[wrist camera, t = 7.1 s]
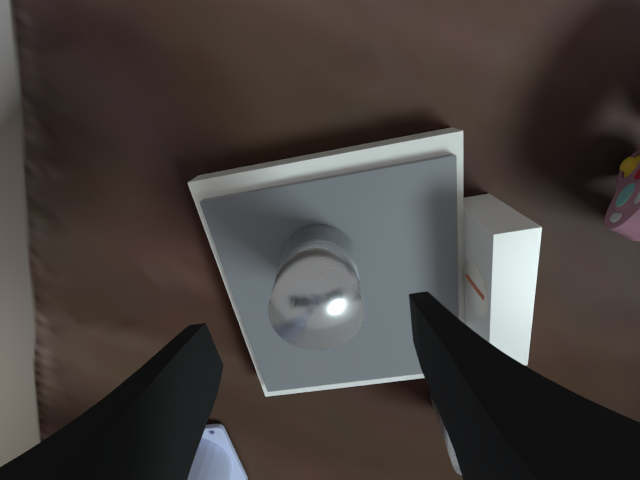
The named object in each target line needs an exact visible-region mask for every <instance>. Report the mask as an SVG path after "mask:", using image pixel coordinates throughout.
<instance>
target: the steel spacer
mask: <svg viewBox="0 0 640 480" xmlns="http://www.w3.org/2000/svg"><path fill="white" fill-rule="evenodd" d="M364 315H365V309H364V302H363V296H362V291H361V285H360V279H359V273H358V267H357V261H356V256H355V250H354V246H353V244H352V242H351V240H350V239H349V237H348V236H347V235H346V234H345V233H344V232H342V231H341V230H340V229H338V228H336V227H334V226H331V225H327V224H310V225H306V226H304V227H301V228H300V229H298V230H296V231H295V232H294V233H293V234H292V235H291V236H290V237H289V238H288V240H287V242H286V244H285V246H284V250H283V253H282V257H281V260H280V264H279V268H278V271H277V275H276V278H275V282H274V286H273V289H272V293H271V297H270V300H269V305H268V316H269V320H270V323H271V325H272V327H273V328H274V330H275V331H276V333H277V334H278V335H279V336H280V337H281V338H282V339H284V340H285V341H286V342H288V343H290V344H292V345H294V346H296V347H299V348H302V349H307V350H328V349H332V348H335V347H338V346H340V345H343V344H344V343H346V342H348V341H349V340H350V339H352V338H353V337H354V336H355V335H356V334H357V332H358V331H359V329H360V328H361V326H362V323H363V321H364Z"/></svg>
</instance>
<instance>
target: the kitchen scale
mask: <svg viewBox="0 0 640 480" xmlns="http://www.w3.org/2000/svg"><path fill="white" fill-rule="evenodd" d="M187 183H188V186H189V188H190V191H191V194H192V197H193V199H194V202H195V205H196V208H197V210H198V213H199V216H200V219H201V221H202V224H203V227H204V230H205V232H206V235H207V238H208V240H209V243H210V246H211V249H212V251H213V254H214V257H215V260H216V262H217V265H218V268H219V271H220V273H221V276H222V279H223V282H224V284H225V287H226V290H227V293H228V295H229V298H230V301H231V303H232V306H233V309H234V312H235V314H236V317H237V320H238V323H239V325H240V328H241V331H242V334H243V336H244V339H245V342H246V345H247V347H248V350H249V353H250V355H251V358H252V361H253V364H254V366H255V369H256V372H257V375H258V377H259V380H260V383H261V386H262V388H263V391H264V394H265V397H267V396H275V395H284V394H292V393H301V392H309V391H318V390H327V389H335V388H344V387H352V386H361V385H369V384H378V383H386V382H395V381H403V380H412V379H421V378H425V377H424V375H423V372H422V370H421V367H420V364H419V360H418V357H417V353H416V350H415V346H414V343H413V335H412V324H411V312H410V301H409V294H412V293H419V292H426V291H428V292H429V293H430V294H431V295H433V296H434V297H435V298H436V299H437V300H438V301H439V302H440V303H441V304H442V305H443V306H445V307H446V308H447V309H448V310H449V311H450V312H451V313H453V314H454V315H455V316H456V317H457V318H458V319H460V320H461V321H462V322H463V323H465V324H466V325H467V326H468V327H470V328H471V329H472V330H473V331H475V332H476V333H477V334H478V335H480V336H481V337H482V338H484V339H485V340H487V341H488V342H489V343H491V344H492V345H493V346H495V347H496V348H498V349H499V350H501V351H502V352H504V353H505V354H507V355H508V356H510V357H511V358H513V359H515V360H516V361H518V362H519V363H521V364H523V365H528V356H529V347H530V337H531V327H532V318H533V308H534V299H535V289H536V279H537V270H538V260H539V251H540V241H541V231H542V227H541V226H539V225H538V224H536V223H535V222H533V221H531V220H530V219H528V218H527V217H525V216H524V215H522V214H520V213H519V212H517V211H516V210H514V209H512V208H511V207H509V206H508V205H506V204H505V203H503V202H501V201H500V200H498V199H497V198H495V197H494V196H492V195H490V194H483V195H477V196H471V197H465V198H463V131H462V130H459V129H455V128H452V127H451V128H445V129H440V130H435V131H430V132H424V133H419V134H414V135H409V136H403V137H398V138H393V139H387V140H382V141H377V142H372V143H366V144H361V145H356V146H350V147H345V148H340V149H335V150H329V151H324V152H319V153H314V154H308V155H303V156H298V157H292V158H287V159H282V160H277V161H271V162H266V163H261V164H256V165H250V166H245V167H240V168H234V169H229V170H224V171H219V172H213V173H208V174H203V175H198V176H197V177H195V178H194V179H192V180H191V181H189V182H187ZM310 224H327V225H331V226H334V227H336V228H338V229H340V230H341V231H342V232H344V233H345V234H346V235H347V236H348V237H349V239H350V240H351V242H352V244H353V246H354V250H355V256H356V261H357V267H358V273H359V279H360V285H361V291H362V296H363V302H364V309H365V315H364V321H363V323H362V326H361V328H360V329H359V331H358V332H357V334H356V335H355V336H354V337H353V338H352V339H350V340H349V341H348V342H346V343H344V344H343V345H340V346H338V347H335V348H332V349H328V350H307V349H302V348H299V347H296V346H294V345H292V344H290V343H288V342H286V341H285V340H284V339H282V338H281V337H280V336H279V335H278V334H277V333H276V331H275V330H274V328H273V327H272V325H271V323H270V320H269V316H268V305H269V300H270V297H271V293H272V289H273V286H274V282H275V278H276V275H277V271H278V268H279V264H280V260H281V257H282V253H283V250H284V246H285V244H286V242H287V240H288V238H289V237H290V236H291V235H292V234H293V233H294V232H295V231H296V230H298V229H300V228H301V227H304V226H306V225H310Z"/></svg>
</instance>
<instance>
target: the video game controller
mask: <svg viewBox="0 0 640 480" xmlns="http://www.w3.org/2000/svg"><path fill="white" fill-rule="evenodd" d="M604 224H605V226H606V227H607V228H608V229H611V230H613V231H616V232H618V233H620V234H621V235H623V236H624V237H625V238H627V239H628V240H634V241H640V148H639V149H638V150H636V151H635V152H634V153H633V154H632V155H631V156H630V157H628V158H626V159H625V160H623V162H622V163H621V165H620V172H619V174H618V176H617V179H616V191H615V194H614V196H613V199H612V201H611V203H610V205H609V207H608V210H607V212H606V215H605V223H604Z"/></svg>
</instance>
